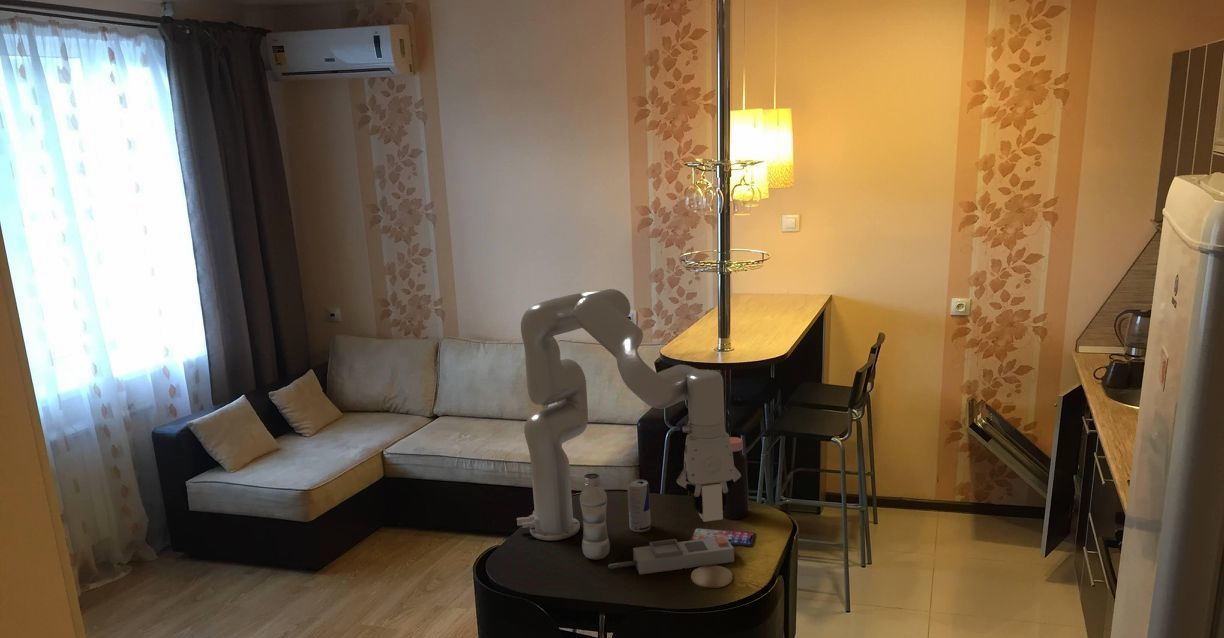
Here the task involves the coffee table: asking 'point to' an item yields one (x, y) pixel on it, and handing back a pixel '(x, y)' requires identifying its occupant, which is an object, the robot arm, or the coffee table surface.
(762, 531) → the coffee table surface
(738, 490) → the vinegar
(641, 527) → the energy drink
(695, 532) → the smartphone
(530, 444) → the robot arm
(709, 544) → the power strip
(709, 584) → the coaster
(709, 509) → the block
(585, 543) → the plastic bottle
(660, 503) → the coffee table surface
